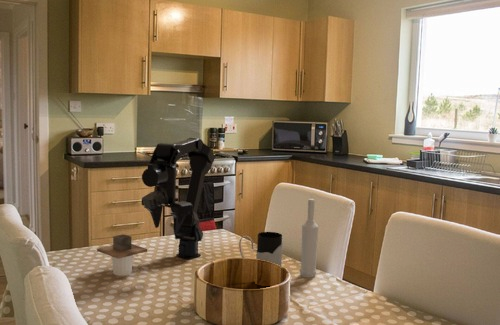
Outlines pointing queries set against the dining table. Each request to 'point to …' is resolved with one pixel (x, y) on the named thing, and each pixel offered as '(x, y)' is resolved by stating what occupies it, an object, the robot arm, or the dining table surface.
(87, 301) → the dining table surface
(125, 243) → the walnut lid
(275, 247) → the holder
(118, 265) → the white cup
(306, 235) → the bottle
